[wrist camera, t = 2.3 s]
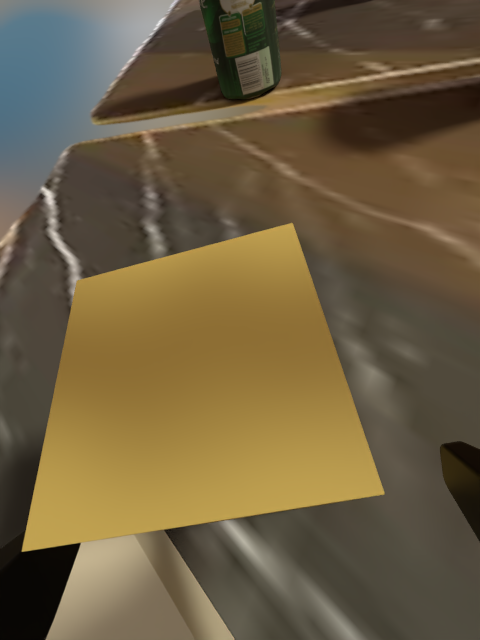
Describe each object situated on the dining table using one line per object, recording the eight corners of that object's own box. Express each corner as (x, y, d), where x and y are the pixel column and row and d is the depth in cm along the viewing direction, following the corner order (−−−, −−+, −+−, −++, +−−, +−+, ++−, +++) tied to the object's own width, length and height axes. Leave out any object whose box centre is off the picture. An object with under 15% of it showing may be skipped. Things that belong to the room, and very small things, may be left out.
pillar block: (336, 502, 15) (384, 494, 4) (235, 518, 15) (21, 551, 4) (309, 400, 17) (292, 223, 6) (224, 417, 18) (77, 280, 7)
